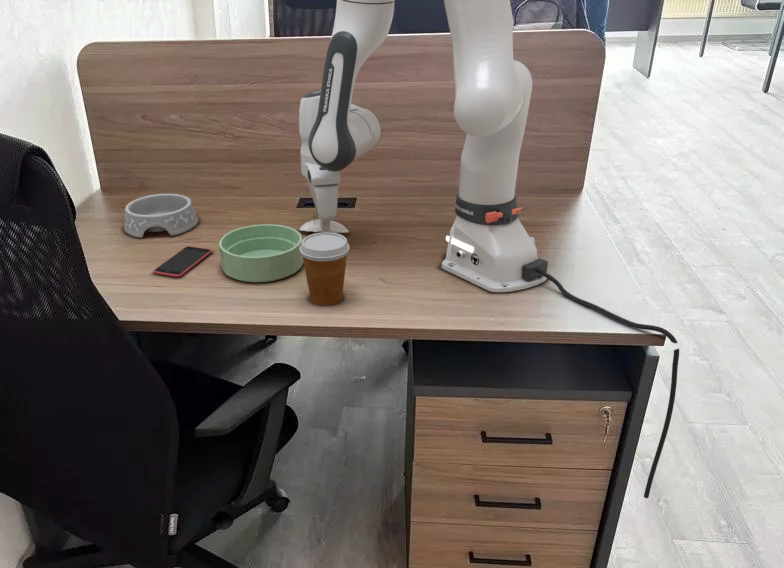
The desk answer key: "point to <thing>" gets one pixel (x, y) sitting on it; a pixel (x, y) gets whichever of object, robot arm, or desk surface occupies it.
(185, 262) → the smartphone
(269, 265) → the bowl
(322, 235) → the disposable coffee cup
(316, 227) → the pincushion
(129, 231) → the dog bowl
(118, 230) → the desk surface
